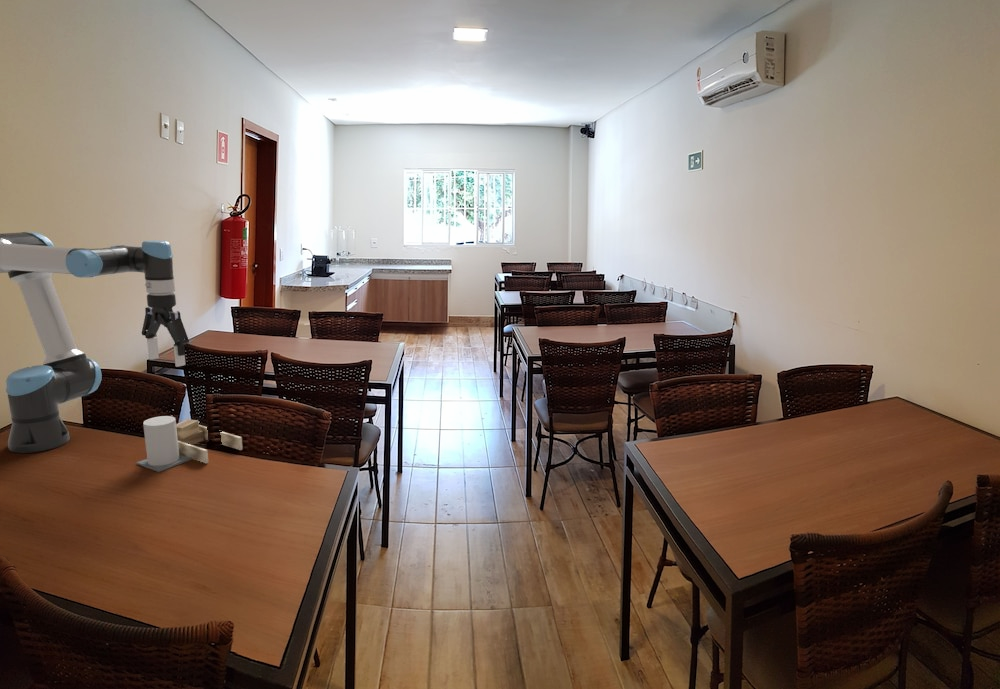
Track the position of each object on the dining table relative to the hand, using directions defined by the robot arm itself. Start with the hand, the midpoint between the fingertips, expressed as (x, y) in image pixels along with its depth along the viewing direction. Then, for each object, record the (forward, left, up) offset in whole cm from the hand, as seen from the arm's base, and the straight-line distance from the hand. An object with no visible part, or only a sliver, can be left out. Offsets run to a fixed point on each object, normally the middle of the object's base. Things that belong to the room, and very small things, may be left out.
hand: (167, 362), depth 189 cm
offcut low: (+5, +1, -26) cm, 26 cm away
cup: (+12, -11, -25) cm, 30 cm away
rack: (+12, 0, -26) cm, 28 cm away
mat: (+12, -11, -26) cm, 31 cm away
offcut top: (+5, +1, -23) cm, 23 cm away
